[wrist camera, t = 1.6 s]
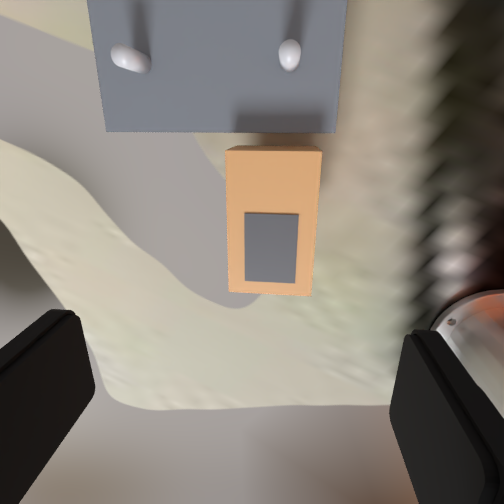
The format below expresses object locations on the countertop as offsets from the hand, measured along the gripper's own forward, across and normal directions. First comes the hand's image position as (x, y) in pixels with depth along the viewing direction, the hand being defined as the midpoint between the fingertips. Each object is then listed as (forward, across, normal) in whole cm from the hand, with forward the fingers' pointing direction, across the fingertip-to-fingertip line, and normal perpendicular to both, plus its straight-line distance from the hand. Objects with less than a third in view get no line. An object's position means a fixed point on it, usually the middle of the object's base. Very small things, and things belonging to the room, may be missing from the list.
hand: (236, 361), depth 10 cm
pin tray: (+17, +4, -14) cm, 22 cm away
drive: (+19, 0, 0) cm, 19 cm away
